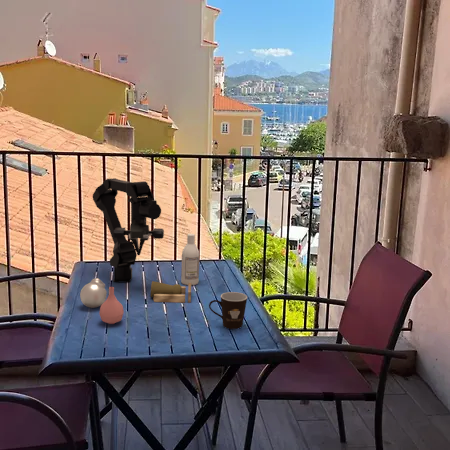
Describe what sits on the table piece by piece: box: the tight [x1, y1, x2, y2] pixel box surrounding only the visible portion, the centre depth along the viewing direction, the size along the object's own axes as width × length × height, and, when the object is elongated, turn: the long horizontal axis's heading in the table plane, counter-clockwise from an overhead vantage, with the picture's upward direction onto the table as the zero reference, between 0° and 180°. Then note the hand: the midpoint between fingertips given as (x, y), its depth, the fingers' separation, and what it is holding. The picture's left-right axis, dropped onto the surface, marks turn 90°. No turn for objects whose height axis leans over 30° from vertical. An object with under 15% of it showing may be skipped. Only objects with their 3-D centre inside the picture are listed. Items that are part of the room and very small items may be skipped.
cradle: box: [152, 283, 192, 304], centre depth 207 cm, size 14×10×4 cm
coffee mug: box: [208, 291, 248, 330], centre depth 184 cm, size 12×9×10 cm
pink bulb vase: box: [98, 286, 125, 325], centre depth 181 cm, size 8×8×12 cm
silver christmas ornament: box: [79, 277, 108, 309], centre depth 194 cm, size 9×10×10 cm
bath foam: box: [180, 233, 200, 286], centre depth 223 cm, size 7×7×20 cm
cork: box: [149, 280, 182, 298], centre depth 207 cm, size 6×6×11 cm
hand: (138, 255), depth 214 cm, fingers closed
